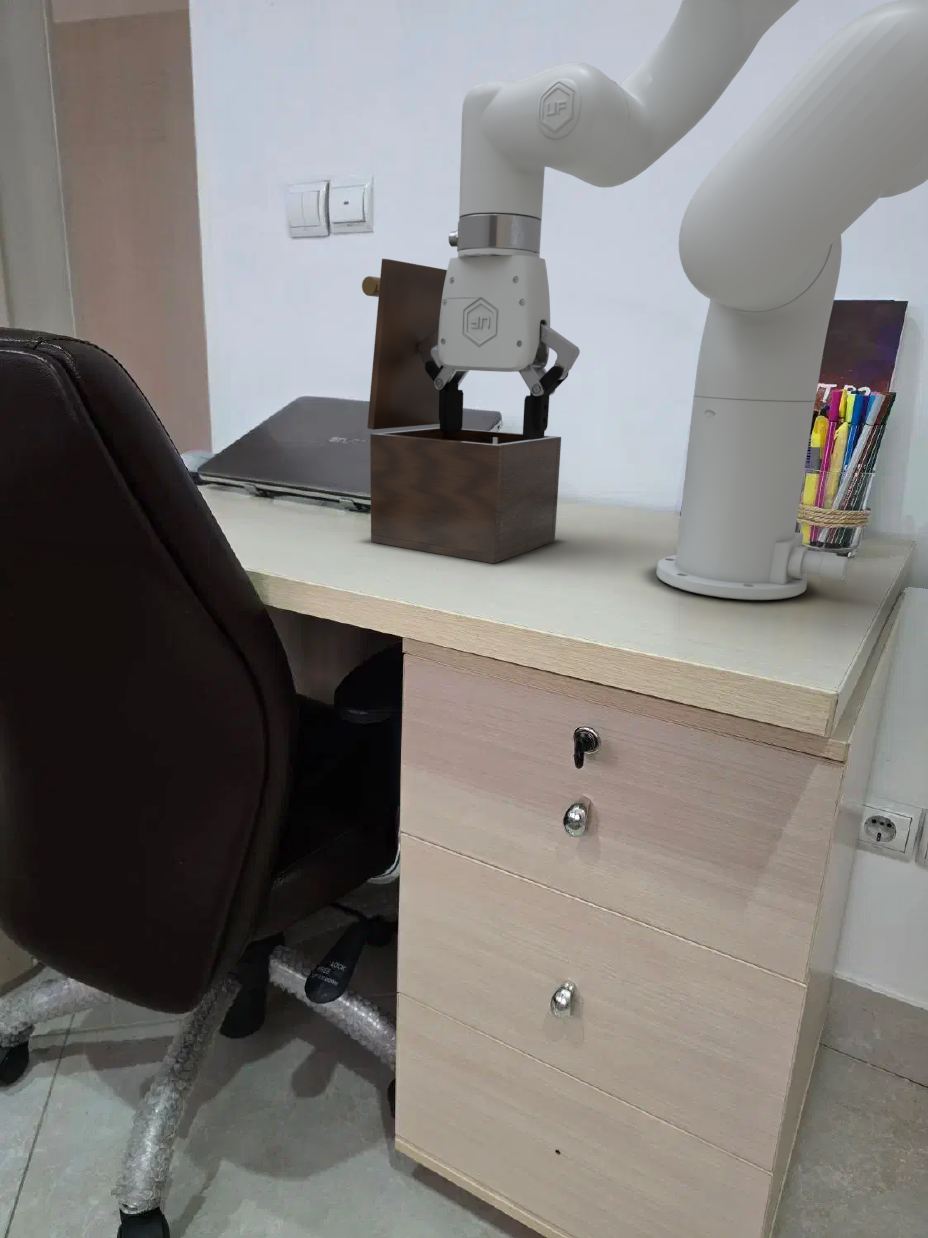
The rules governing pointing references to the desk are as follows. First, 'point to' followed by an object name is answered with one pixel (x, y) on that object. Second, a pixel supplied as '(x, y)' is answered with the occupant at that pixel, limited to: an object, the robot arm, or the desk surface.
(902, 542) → the desk surface
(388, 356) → the lid
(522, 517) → the box
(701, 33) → the robot arm
